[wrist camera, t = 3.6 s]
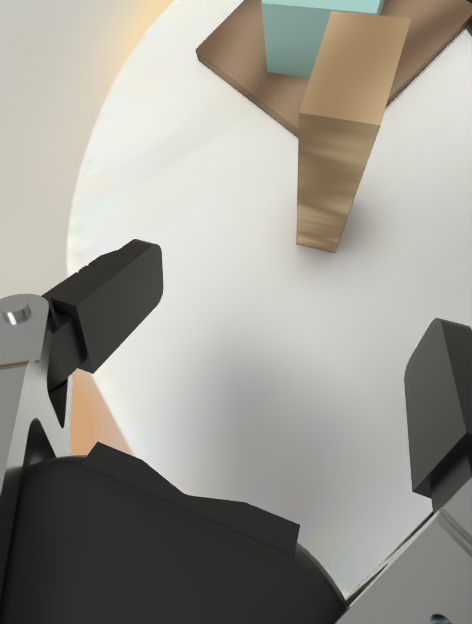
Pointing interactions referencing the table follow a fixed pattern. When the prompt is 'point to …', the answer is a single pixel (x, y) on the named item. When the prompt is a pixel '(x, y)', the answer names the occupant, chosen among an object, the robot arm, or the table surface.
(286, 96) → the base plate
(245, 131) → the table surface
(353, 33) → the tall wooden block
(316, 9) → the teal open box
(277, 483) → the table surface
